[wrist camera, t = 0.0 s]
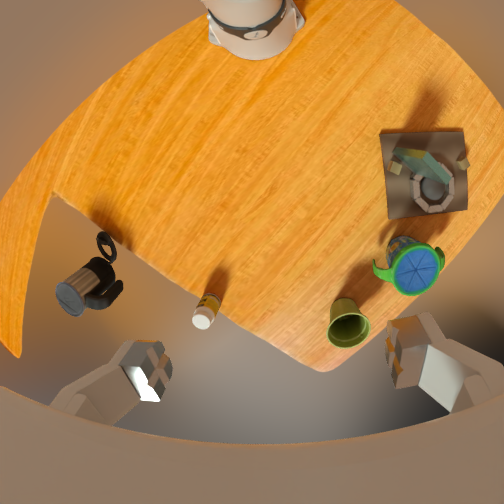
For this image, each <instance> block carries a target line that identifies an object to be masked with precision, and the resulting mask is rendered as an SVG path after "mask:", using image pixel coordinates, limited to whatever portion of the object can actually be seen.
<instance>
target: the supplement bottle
mask: <svg viewBox="0 0 504 504" xmlns="http://www.w3.org/2000/svg"><path fill="white" fill-rule="evenodd" d="M220 305H221V301H220V299H219V297H218V296H217V295H215V294H212V293H207V294H205V295H203V297H202V298H201V300H200V302H199V304H198V305H197V307H196V309H195V311H194V316H193V319H192V321H193V324H194V325H195V326H196V327H197V328H199V329H206V328H208V327H209V326H210V324H211V323H212V322H213V321H214V319H215V317H216V314H217V312H218V310H219V308H220Z"/></svg>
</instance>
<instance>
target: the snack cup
mask: <svg viewBox="0 0 504 504" xmlns="http://www.w3.org/2000/svg"><path fill="white" fill-rule="evenodd" d="M386 259H387V263H388V266H389V269H382V268H378V267H376V264H375V260H374V259H373V272H374V274H375V275H376V276H377V277H379V278H380V279H383V280H385V281H388V282H391V283H393V285H394V287H395V288H396V289H397V291H398V292H400V293H401V294H403V295H407V296H416V295H419V294H422V293H424V292H425V291H427V290H428V289H429V288H431V287H432V285H433V284H434V283H435V281H436V280H437V278H438V275H439V272H440V271H441V270H442V269H443V267H444V265H445V255H444V253H443V251H442V250H441V249H440V248H439V247H436V248H435V250H434V249H433V248H432V247H431V246H430V245H429V244H426V243H421V242H419V241H417V240H415V239H413V238H411V237H409V236H399V237H397V238H395V239H393V240H391V242H390V244H389V245H388V248H387V250H386Z"/></svg>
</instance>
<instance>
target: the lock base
mask: <svg viewBox="0 0 504 504" xmlns="http://www.w3.org/2000/svg"><path fill="white" fill-rule="evenodd" d="M379 136H380V143H381V150H382V157H383V165H384V174H385V184H386V195H387V208H388V219H389V220H390V219H398V218H406V217H414V216H422V215H430V214H438V213H446V212H454V211H463V210H467V207H468V195H467V168H468V167H469V166H470V164H469V162H468V160H467V157H466V153H465V143H464V134H463V132H412V133H392V134H379ZM396 147H399V148H407V149H414V150H421V151H427V152H428V153H429V154H430V155H431V156H432V157H433V158H434V159H435V160H436V161H437V162H440V163H443V164H444V165H445V167H446V168H447V169H448V170H449V171H450V172H451V173H452V174H453V176H452V177H454V194H455V195H453V197H454V198H453V199H452V200H451V202H450V203H449V205H448V206H447V207H446V209H445V210H443V211H441V212H432V213H427V212H425V211H424V210H422V209H421V208H420V207H419V206H418V205H417V204H416V203H415V202H414V201H413V200H412V197H411V190H410V179H412V178H411V175H412V174H413V172H412V171H411V170H410V169H409V168H408V167H407V166H406V165H404V164H403V163H402V162H401V161H400V160H399V159H398V158H397V157H396V156H395V155H394V154H393V153H392V152H393V151H394V149H395V148H396ZM419 185H420V197H421V198H422V199H423V200H424V201H425V202H426V203H427V204H431V203H438V202H439V200H440V199H441V198H442V196H443V195H444V193H445V184H443V183H440V182H437V181H435V180H432V179H429V178H426V177H424V176H423V177H422V179H421V180H420V181H419Z"/></svg>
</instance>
